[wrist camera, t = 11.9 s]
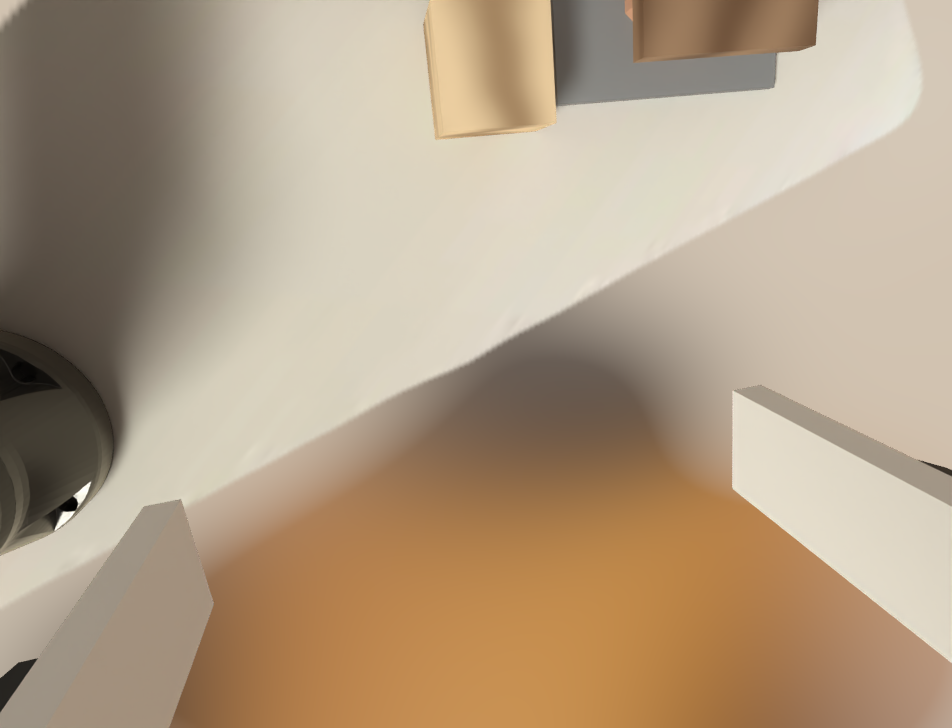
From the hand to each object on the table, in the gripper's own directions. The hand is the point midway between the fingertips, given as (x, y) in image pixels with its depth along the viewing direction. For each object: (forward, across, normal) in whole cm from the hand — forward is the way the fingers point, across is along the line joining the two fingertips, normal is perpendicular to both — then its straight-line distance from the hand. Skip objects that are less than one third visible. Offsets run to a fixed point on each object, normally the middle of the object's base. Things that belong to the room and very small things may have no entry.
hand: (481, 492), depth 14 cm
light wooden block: (+30, +8, +13) cm, 34 cm away
